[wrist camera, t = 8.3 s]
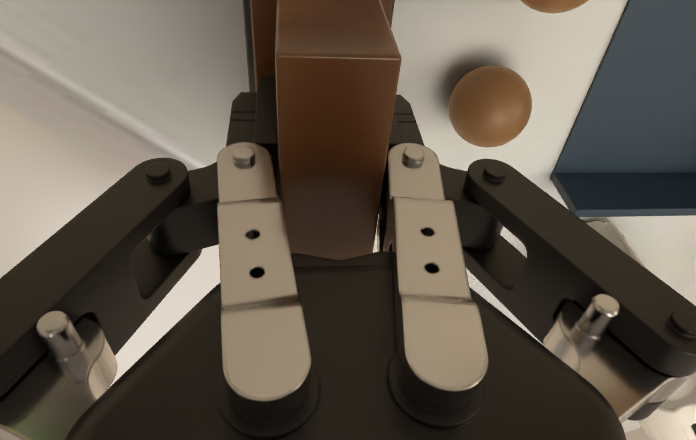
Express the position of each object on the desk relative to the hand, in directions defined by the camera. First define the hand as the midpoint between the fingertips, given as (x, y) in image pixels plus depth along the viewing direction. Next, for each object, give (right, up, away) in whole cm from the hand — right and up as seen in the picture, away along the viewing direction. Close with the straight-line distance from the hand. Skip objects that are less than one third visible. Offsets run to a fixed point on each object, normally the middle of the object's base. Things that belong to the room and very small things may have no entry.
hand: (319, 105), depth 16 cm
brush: (0, +3, +3) cm, 4 cm away
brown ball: (+7, +1, +6) cm, 10 cm away
